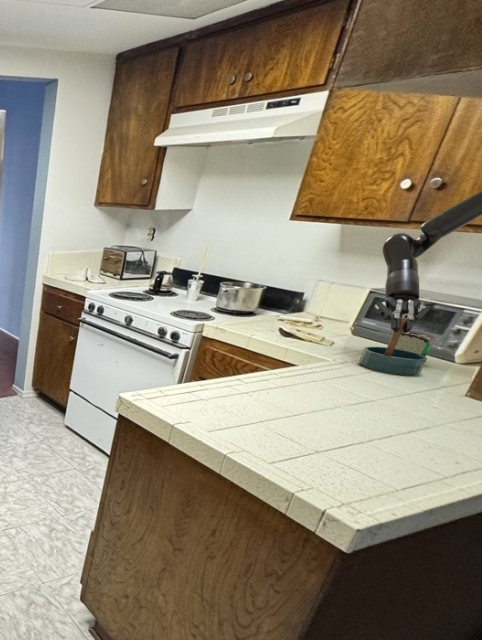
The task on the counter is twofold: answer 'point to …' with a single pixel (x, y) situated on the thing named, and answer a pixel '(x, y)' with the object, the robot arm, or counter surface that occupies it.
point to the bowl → (392, 361)
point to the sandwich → (416, 342)
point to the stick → (395, 338)
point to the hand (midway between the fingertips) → (401, 330)
